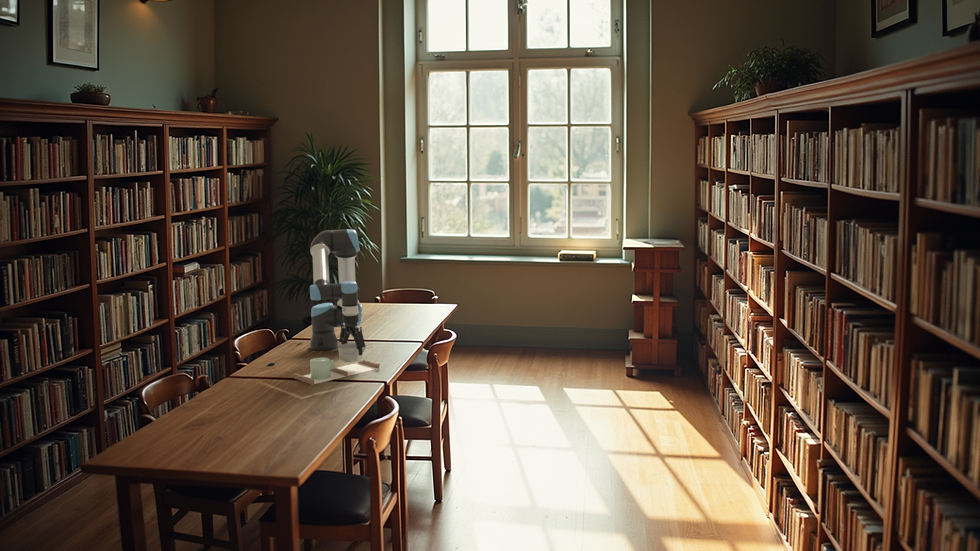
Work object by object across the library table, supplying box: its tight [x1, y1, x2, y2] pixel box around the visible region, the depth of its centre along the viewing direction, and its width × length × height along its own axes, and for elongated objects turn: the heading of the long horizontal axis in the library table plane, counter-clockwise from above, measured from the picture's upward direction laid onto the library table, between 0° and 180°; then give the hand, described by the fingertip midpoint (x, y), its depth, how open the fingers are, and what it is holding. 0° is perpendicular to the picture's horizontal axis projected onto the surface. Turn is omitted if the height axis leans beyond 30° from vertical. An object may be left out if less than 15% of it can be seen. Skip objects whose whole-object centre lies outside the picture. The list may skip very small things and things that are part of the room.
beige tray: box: [293, 359, 381, 386], centre depth 393 cm, size 16×37×3 cm, turn 134°
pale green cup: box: [309, 357, 335, 380], centre depth 387 cm, size 9×12×8 cm
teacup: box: [337, 342, 367, 363], centre depth 398 cm, size 14×11×8 cm
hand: (352, 359), depth 399 cm, fingers closed on teacup, 11 cm apart
